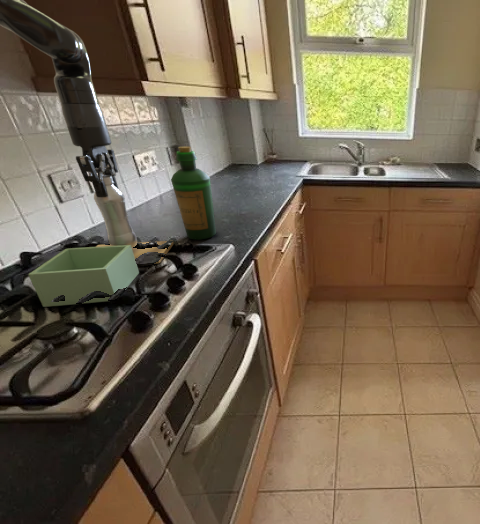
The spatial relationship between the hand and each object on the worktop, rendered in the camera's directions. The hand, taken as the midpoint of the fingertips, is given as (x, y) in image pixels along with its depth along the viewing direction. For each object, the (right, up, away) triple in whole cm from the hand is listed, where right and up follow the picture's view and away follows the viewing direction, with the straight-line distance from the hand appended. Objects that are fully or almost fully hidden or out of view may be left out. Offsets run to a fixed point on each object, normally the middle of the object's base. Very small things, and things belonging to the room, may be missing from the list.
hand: (108, 193), depth 86 cm
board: (0, -16, +8) cm, 18 cm away
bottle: (+13, -9, +23) cm, 28 cm away
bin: (+4, -24, -9) cm, 26 cm away
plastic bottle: (0, -14, +7) cm, 16 cm away
